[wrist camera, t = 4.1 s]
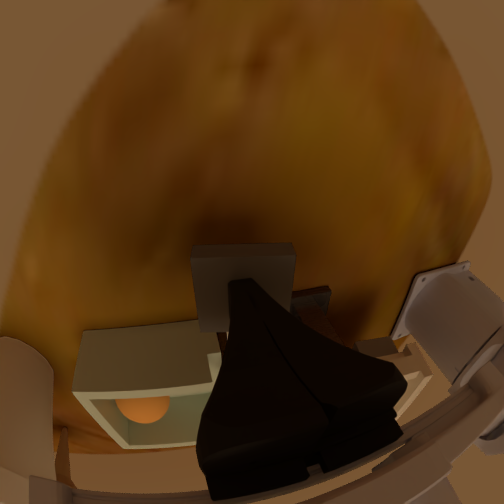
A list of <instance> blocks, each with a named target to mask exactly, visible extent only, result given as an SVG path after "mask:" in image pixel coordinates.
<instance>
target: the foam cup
mask: <svg viewBox="0 0 504 504" xmlns="http://www.w3.org/2000/svg"><path fill="white" fill-rule="evenodd" d="M53 380H54V374H53V369H52V367H51V366H50V364H49V363H48V361H47V359H46V358H44V357H43V356H42V355H41V354H40V353H39V352H38V351H37V350H36V349H34V348H33V347H31V346H29V345H27V344H26V343H24V342H22V341H20V340H18V339H14V338H10V337H6V336H4V337H0V504H29V476H30V475H33V476H38V477H42V478H47V479H51V480H56V473H55V463H54V450H53Z"/></svg>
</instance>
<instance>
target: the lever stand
mask: <svg viewBox="0 0 504 504" xmlns="http://www.w3.org/2000/svg"><path fill="white" fill-rule="evenodd" d="M330 296H331V290H330V288H329V287H328V286H324V287H319V288H313V289H308V290H302V291H297V292H292V296H291V304H290V312H289V313H291V314H292V315H293V316H295V317H296V318H297V319H299V320H300V321H301V322H303V323H304V324H306V325H307V326H309V327H310V328H312V329H313V330H315V331H317V332H318V333H320V334H322V335H323V336H325V337H327V338H329V339H331V340H333V341H335V342H337V343H339V344H341V345H343V346H345V345H344V344H343V342H342V341H341V339H340V337H339V336H338V334H337V333H336V331H335V330H334V328H333V327H332V325H331V324H330V322H329V321H328V319H327V317H326V313H327V309H328V305H329V300H330Z"/></svg>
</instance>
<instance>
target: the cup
mask: <svg viewBox="0 0 504 504" xmlns="http://www.w3.org/2000/svg"><path fill="white" fill-rule="evenodd" d="M221 363H222V359H221V351H220V347H219V342H218V338H217V334H216V332H202V333H200V327H199V320H190V321H182V322H174V323H165V324H156V325H147V326H137V327H126V328H115V329H102V330H88V331H83V335H82V340H81V344H80V349H79V353H78V358H77V363H76V368H75V374H74V379H73V385H72V393H73V394H74V396H75V397H76V398H77V399H78V400H79V402H80V403H81V404H82V405H83V406H84V408H85V409H86V410H87V411H88V412H89V413H90V415H91V416H92V417H93V418H94V419H95V420H96V421H97V422H98V424H99V425H100V426H101V427H102V428H103V429H104V430H105V431H106V432H107V433H108V434H109V435H110V436H111V437H112V438H113V439H114V440H115V441H116V442H117V443H118V444H119V445H120V446H121V447H122V448H123V449H148V448H167V447H179V446H189V445H196V440H197V434H198V429H199V424H200V420H201V414H202V412H203V410H204V408H205V406H206V403H207V401H208V399H209V397H210V395H211V392H212V390H213V387H214V384H215V381H216V379H217V376H218V373H219V370H220V367H221ZM160 396H170V403H169V407H168V410H167V412H166V413H165V415H164V416H163V417H162V418H160V419H159V420H157V421H155V422H152V423H147V424H146V423H137V422H134V421H132V420H130V419H128V418H127V417H126V416H124V415H123V414H122V412H121V411H120V410H119V408H118V407H117V404H116V402H115V399H129V398H147V397H160Z"/></svg>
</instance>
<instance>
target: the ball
mask: <svg viewBox="0 0 504 504" xmlns="http://www.w3.org/2000/svg"><path fill="white" fill-rule="evenodd" d="M115 402H116V404H117V407H118V408H119V410H120V411H121V412H122V414H123V415H124V416H126V417H127V418H128V419H130V420H132V421H134V422H137V423H146V424H147V423H152V422H155V421H157V420H159V419H160V418H162V417H163V416H164V415H165V413H166V412H167V410H168V407H169V403H170V396H160V397H147V398H129V399H115Z"/></svg>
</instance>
